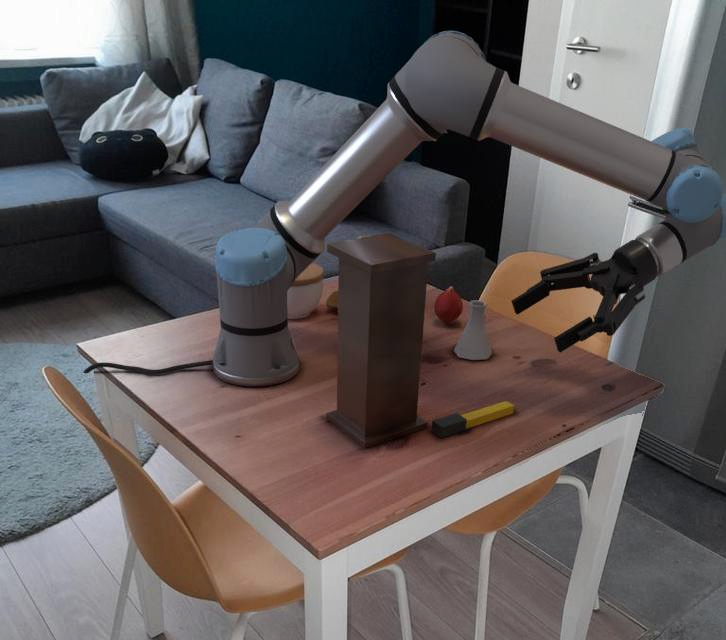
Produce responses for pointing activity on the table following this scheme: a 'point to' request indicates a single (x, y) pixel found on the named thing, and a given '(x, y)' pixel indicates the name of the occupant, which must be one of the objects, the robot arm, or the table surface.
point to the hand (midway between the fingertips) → (534, 326)
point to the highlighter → (470, 419)
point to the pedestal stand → (379, 336)
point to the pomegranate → (448, 306)
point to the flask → (474, 335)
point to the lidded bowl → (305, 292)
